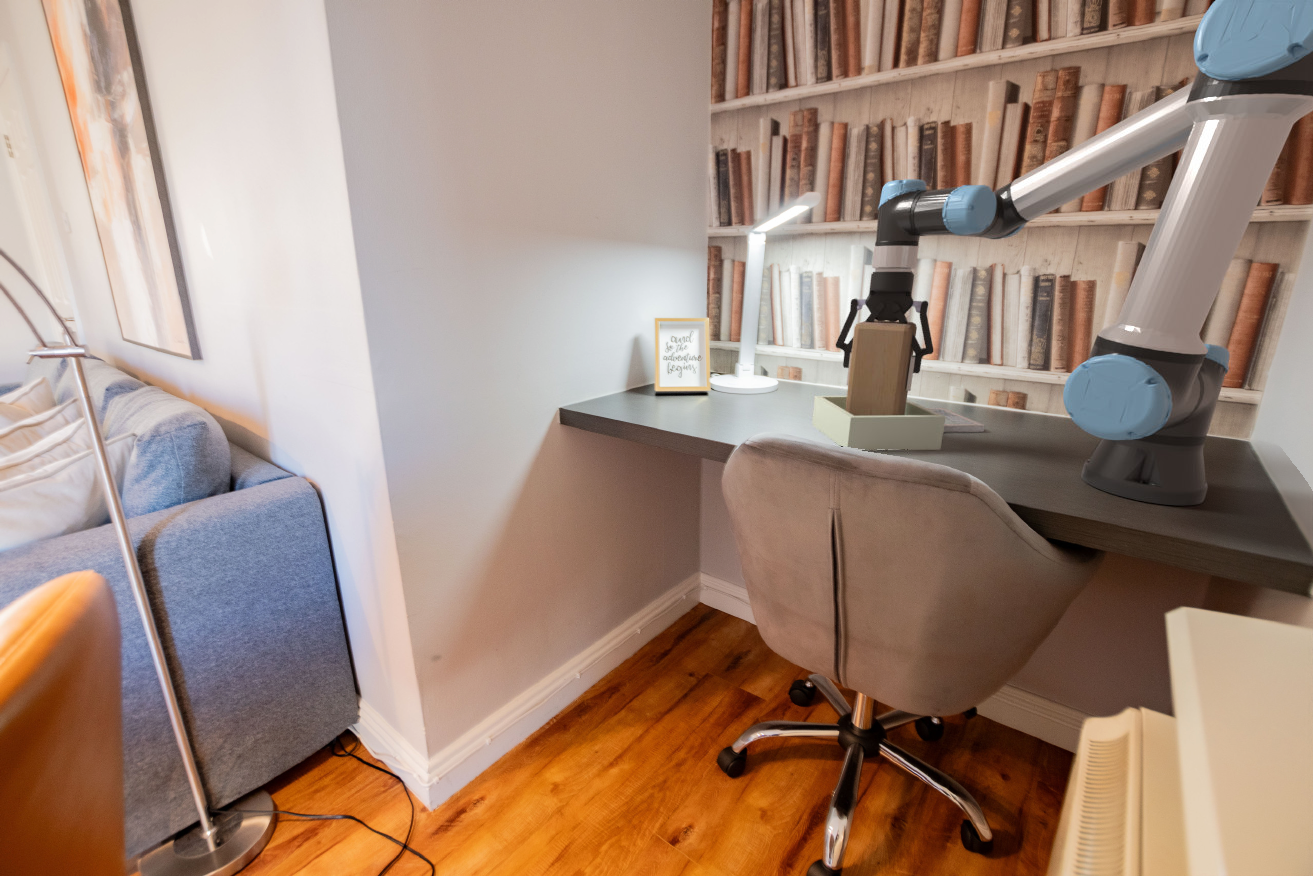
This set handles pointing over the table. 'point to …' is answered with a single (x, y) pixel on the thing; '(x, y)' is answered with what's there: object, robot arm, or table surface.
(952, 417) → the socket frame
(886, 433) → the bin
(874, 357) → the block
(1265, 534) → the table surface
